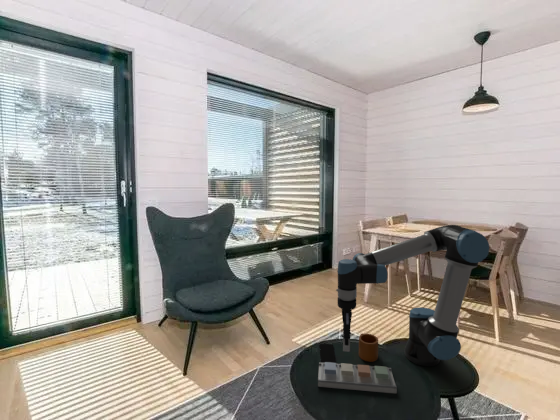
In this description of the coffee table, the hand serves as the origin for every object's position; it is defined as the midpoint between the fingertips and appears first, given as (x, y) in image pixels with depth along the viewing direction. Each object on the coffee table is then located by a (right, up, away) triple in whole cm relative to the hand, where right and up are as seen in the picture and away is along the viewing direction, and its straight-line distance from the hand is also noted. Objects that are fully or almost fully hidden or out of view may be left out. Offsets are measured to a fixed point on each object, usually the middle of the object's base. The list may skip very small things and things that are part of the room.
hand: (346, 350), depth 128 cm
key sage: (+14, -10, -1) cm, 17 cm away
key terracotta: (+7, -10, 0) cm, 12 cm away
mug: (+14, -11, +19) cm, 26 cm away
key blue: (-6, -10, +3) cm, 12 cm away
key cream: (+1, -10, +1) cm, 10 cm away
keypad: (+4, -13, +1) cm, 14 cm away
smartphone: (-5, -11, +20) cm, 23 cm away
